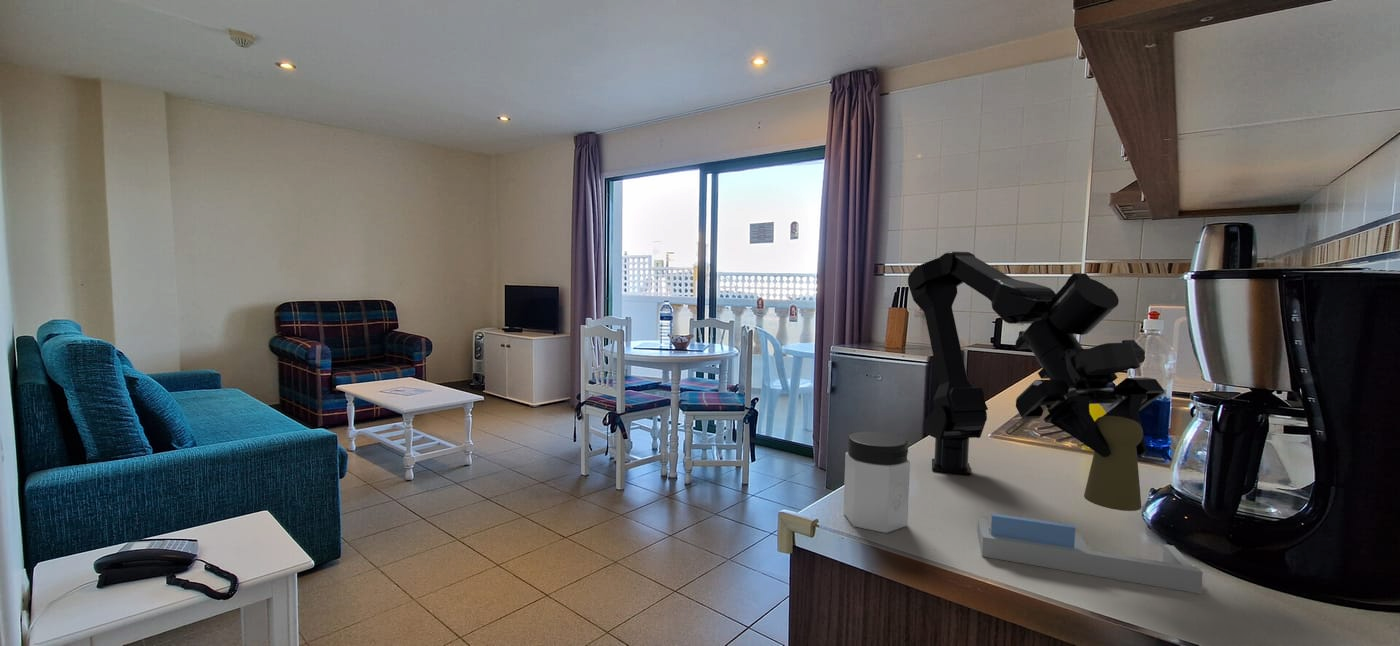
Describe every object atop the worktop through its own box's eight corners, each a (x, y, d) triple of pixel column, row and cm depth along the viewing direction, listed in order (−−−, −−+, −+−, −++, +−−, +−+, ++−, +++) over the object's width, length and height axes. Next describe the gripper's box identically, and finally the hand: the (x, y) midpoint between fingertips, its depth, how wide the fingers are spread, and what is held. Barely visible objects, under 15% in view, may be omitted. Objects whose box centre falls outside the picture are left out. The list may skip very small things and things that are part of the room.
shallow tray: (976, 528, 80) (978, 493, 80) (1169, 558, 72) (1172, 519, 72) (982, 556, 72) (984, 517, 72) (1200, 593, 64) (1204, 550, 63)
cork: (1084, 489, 78) (1090, 409, 77) (1140, 499, 74) (1147, 416, 74) (1082, 503, 73) (1088, 418, 72) (1142, 515, 70) (1149, 426, 69)
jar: (877, 538, 77) (880, 450, 76) (832, 517, 84) (834, 436, 83) (918, 523, 82) (922, 441, 81) (872, 504, 88) (875, 428, 88)
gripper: (1037, 318, 74) (1106, 424, 64) (1156, 318, 78) (1239, 419, 68) (991, 369, 82) (1046, 469, 72) (1101, 367, 86) (1168, 462, 76)
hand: (1125, 454), depth 72 cm, fingers closed on cork, 5 cm apart
